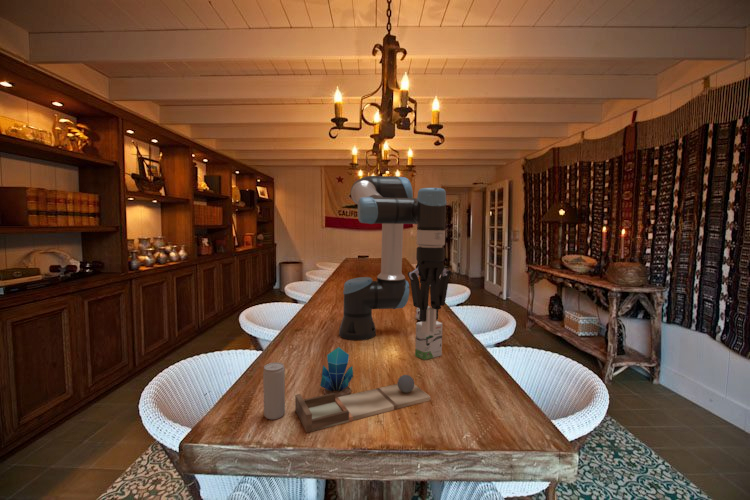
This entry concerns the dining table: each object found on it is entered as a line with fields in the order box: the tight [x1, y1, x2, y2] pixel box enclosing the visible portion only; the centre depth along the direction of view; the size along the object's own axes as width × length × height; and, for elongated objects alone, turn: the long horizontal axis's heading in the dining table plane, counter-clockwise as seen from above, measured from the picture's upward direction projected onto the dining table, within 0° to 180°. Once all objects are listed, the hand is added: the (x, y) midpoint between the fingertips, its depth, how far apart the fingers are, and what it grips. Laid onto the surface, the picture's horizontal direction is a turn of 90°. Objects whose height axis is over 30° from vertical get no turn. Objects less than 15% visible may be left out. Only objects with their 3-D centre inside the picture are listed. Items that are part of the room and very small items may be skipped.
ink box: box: [414, 320, 443, 361], centre depth 122 cm, size 9×5×12 cm, turn 123°
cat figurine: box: [414, 305, 431, 321], centre depth 166 cm, size 10×8×15 cm
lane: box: [294, 383, 432, 434], centre depth 88 cm, size 10×33×4 cm, turn 117°
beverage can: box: [262, 362, 286, 421], centre depth 83 cm, size 5×5×12 cm
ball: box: [397, 374, 415, 393], centre depth 93 cm, size 4×4×4 cm
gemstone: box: [319, 346, 354, 398], centre depth 94 cm, size 7×9×12 cm
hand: (428, 332), depth 95 cm, fingers closed
